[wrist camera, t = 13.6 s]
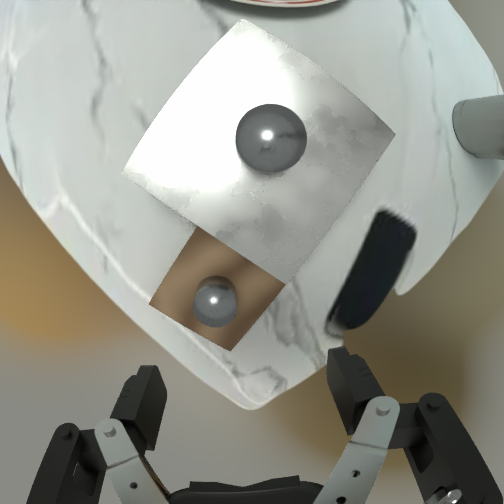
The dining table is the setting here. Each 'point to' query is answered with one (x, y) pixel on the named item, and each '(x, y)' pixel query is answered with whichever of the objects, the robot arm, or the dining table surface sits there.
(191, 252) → the walnut board
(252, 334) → the dining table surface
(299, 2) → the dinner plate
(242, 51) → the pan
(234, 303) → the cylinder
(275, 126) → the cylinder
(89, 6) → the dining table surface
